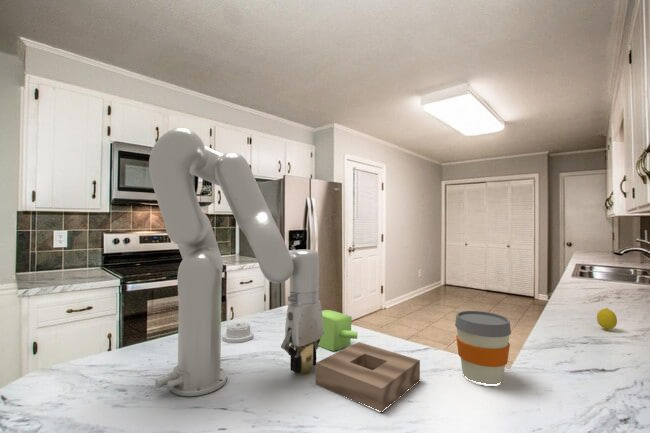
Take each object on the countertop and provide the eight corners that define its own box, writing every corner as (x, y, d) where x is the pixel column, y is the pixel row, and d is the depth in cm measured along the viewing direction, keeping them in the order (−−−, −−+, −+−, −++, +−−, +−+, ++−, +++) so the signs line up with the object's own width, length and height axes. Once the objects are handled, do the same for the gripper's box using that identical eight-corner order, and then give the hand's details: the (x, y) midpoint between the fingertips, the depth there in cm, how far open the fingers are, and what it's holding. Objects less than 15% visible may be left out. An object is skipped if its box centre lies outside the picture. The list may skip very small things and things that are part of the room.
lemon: (593, 328, 119) (593, 306, 119) (603, 327, 121) (603, 305, 121) (610, 333, 114) (610, 310, 114) (620, 332, 116) (620, 309, 116)
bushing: (303, 377, 80) (303, 348, 80) (289, 371, 84) (290, 343, 84) (317, 370, 84) (317, 342, 84) (303, 364, 87) (303, 338, 87)
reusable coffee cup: (511, 373, 83) (511, 315, 83) (510, 396, 72) (510, 328, 73) (459, 362, 89) (459, 308, 90) (451, 381, 79) (451, 319, 79)
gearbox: (365, 348, 100) (367, 318, 100) (344, 356, 93) (346, 323, 93) (323, 333, 113) (325, 306, 113) (302, 339, 106) (304, 310, 106)
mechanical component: (218, 343, 103) (249, 344, 102) (218, 329, 103) (249, 330, 103) (228, 333, 113) (256, 333, 112) (228, 320, 113) (256, 320, 112)
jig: (381, 413, 65) (381, 388, 65) (315, 383, 77) (315, 362, 77) (419, 380, 79) (419, 360, 79) (358, 359, 91) (358, 341, 91)
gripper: (290, 306, 75) (289, 385, 75) (335, 294, 88) (335, 361, 88) (269, 300, 80) (268, 374, 80) (315, 290, 93) (315, 353, 93)
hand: (303, 367), depth 84 cm, fingers closed on bushing, 5 cm apart
